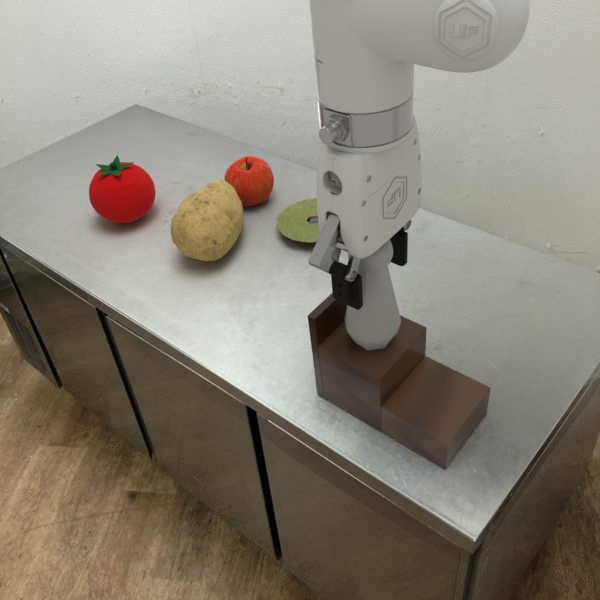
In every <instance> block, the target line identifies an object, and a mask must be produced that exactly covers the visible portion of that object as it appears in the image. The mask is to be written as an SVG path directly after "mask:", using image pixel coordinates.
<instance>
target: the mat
mask: <svg viewBox="0 0 600 600" xmlns="http://www.w3.org/2000/svg"><path fill="white" fill-rule="evenodd" d="M276 225H277V229H278V231H279V232H280V233H281V234H282V235H283V236H284V237H286V238H288V239H290V240H292V241H296V242H301V243H316V242H317V240H318V238H319V236H320V230H319V223H318V211H317V197H313V198H307V199H302V200H299V201H296V202H293V203H292V204H290V205H288V206H287V207H285V208H284V209H283V210H282V211H281V212H280V213H279V215H278V218H277V220H276Z"/></svg>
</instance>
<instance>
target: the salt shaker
mask: <svg viewBox="0 0 600 600" xmlns="http://www.w3.org/2000/svg"><path fill="white" fill-rule="evenodd" d="M346 253H347V259H348V260H349V256H350V253H348V252H346ZM392 257H393V247H392V243H391V241H390V239H389V240H388V241H387V242H386V243H385V244H383V245H382V246H381V247H380V248H379V249H378V250H377V251H375V252H374V253H373V254H371V255H370V256H368V257H366V258H363V259H361V260H360V264H359V268H358V272H357V274H360V275H361V276H362V290H363V306H362V307H361V308H360V309H359V310H356V309H354V308H352V307H350V306H348V305H347V310H346V315H345V324H346V329H347V332H348V334H349V335H350V336H351V338H352V339H353V341H354V342H355V343H356V344H358V345H360V346H361V347H363V348H364V349H366V350H375V349H382V348H385V347H386V346H387V344H388V343H389V342H390V340H391V339H392V338H393V337H394V336H395V335H396V334H397V332H398V329H399V327H400V324H401V318H400V315H401V314H400V310H399V306H398V302H397V298H396V294H395V289H394V286H393V282H392V278H391V274H390V270H389V265H390V263H392V262H391V259H392Z"/></svg>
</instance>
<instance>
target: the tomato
mask: <svg viewBox="0 0 600 600" xmlns="http://www.w3.org/2000/svg"><path fill="white" fill-rule="evenodd" d="M118 155H119V154H116V156H115V158H114V159H113V161H112V162H110V163H109V164H99V163H95V166H97V167H98V168H99V169H98V170H97V171H96V173H94V175H93V176H92V179H91V180H90V183H89V186H88V199H89V203H90V205H91V207H92V209H93V210H94V211H95V212H96V213H97V215H99V216H100V217H101V218H103V219H105V220H106V221H109V222H112V223H116V224H128V223H133V222H136V221H137V220H140V219H141V218H143V217H144V216H145V215H147V214H148V212H149V211H150V210H151V209H152V207H153V205H154V203H155V199H156V186H155V183H154V181H153V178H152V177H151V175H150V174H149V173H148V172H147V171H146V170H145V169H144V168H142V167H141V166H140V165H137V164H135V163H134V161H131V162H129V161H121V160H120V158H119V156H118Z"/></svg>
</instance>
